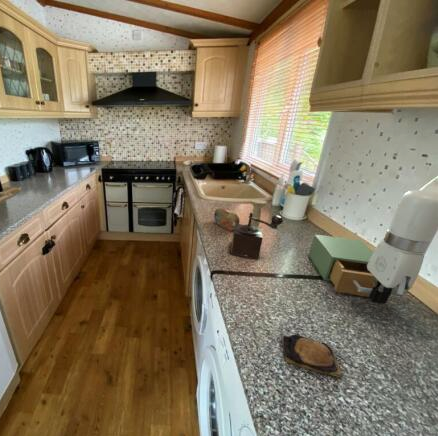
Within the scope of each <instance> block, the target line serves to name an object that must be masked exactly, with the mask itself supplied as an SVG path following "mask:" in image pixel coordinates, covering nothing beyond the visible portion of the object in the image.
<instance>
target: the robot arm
mask: <svg viewBox="0 0 438 436" xmlns="http://www.w3.org/2000/svg"><path fill="white" fill-rule="evenodd" d="M437 232H438V175H437V176H435V177H434V178H432V180H430V181H429V182H427V183H426V184H425V185H423V186H422V187H421V188H420V189H413V190H408V191H406V192H405V193H404V194H403V195H402V197H401V199H400V201H399V204H398V206H397V208H396V210H395V213H394V215H393V217H392V220H391V221H390V224H389V227H388V229H387V231H386V233H385V234H384V237H383V238H381V240H380V241H379V243H378V244H377V245H376V247H375V248H374V250H373V254H372V256H371V258H370V260H369V262H368V264H367V268H368V270H369V271H370V272H371V273H372V274H373V275H374V277H375V279H374V282H373V285H374V286H375V287H373V289H372V291H371V293H370V295H369V297H368V299H369V300H370V302H372V303H376V304H380V305H381V304H382V305H386V304H387V302H388V300H389V299H390V297H391V296H390V294H391V295H394V296H397V297H403V295H404V292H405V291H410V290H411V289H412V287H413V286H414V284H415V283H416V281H417V278H418V277H419V274H420V271H421V269H422V266H423V263H424V258H425V254H426V253H427V252H428V249H429V247H430V245H431V243H432V242H433V240H434V238H435V236H436V234H437ZM389 296H390V297H389Z"/></svg>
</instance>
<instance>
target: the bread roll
mask: <svg viewBox="0 0 438 436" xmlns="http://www.w3.org/2000/svg"><path fill="white" fill-rule="evenodd" d="M280 339H281V344H282V347H283V350H282V352H283V355H284V358H285V362H286V363H288V364H289V365H293V366H295V367H296V366H297V367H300V368H302V369H306V370H311V371H313V372H314V373H320V374H325V375H329V376H333V377H337V378H341V377H342V375H343V374H342V371H341V368H340V365H339V363H338V360H337V358H336V354H335V353H334V350H333V348H332V347H331V346H329V345H328V344H327V343H326V342H323V341H322V342H320V341H317V340H314V339H312V338H309V337H305V336H302V335H301V334H299V333H295V334H292V335H281V338H280Z"/></svg>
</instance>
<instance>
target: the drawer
mask: <svg viewBox="0 0 438 436" xmlns="http://www.w3.org/2000/svg"><path fill="white" fill-rule="evenodd" d="M344 269H352V270H359V271H366V272H370V271H369V270H368V268H367V264H365V263H358V262H350V261H343V260H335V259H334V262H333V265H332V267H331V270H330V273H329V278H330V279H331V281H330V282H332V283H333V285H334V287H333V290H334V292H338V293H344V294H350V295H357V296H361V297H363V296H364V297H368V298H369V295H370V293H371V291H372V289H373V287H375V286H374V285H373V282H374V279H375V277H374V275H373V274H371V273H364V272H357V271H350V270H344ZM391 296H392V294H390V296H389V298H391Z"/></svg>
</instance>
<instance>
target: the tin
mask: <svg viewBox="0 0 438 436" xmlns="http://www.w3.org/2000/svg"><path fill="white" fill-rule="evenodd" d="M213 217H214V221H215V223H216V224H217V225H218V226H220V227H222V228H223V229H226V230H227V231H234V227H235V224H240V222H241V221H240V217H239V216H238V214H237V213H235V212H233V211H231V210H228V209H226V208H218V209H216V210H215V211H214V215H213Z"/></svg>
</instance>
